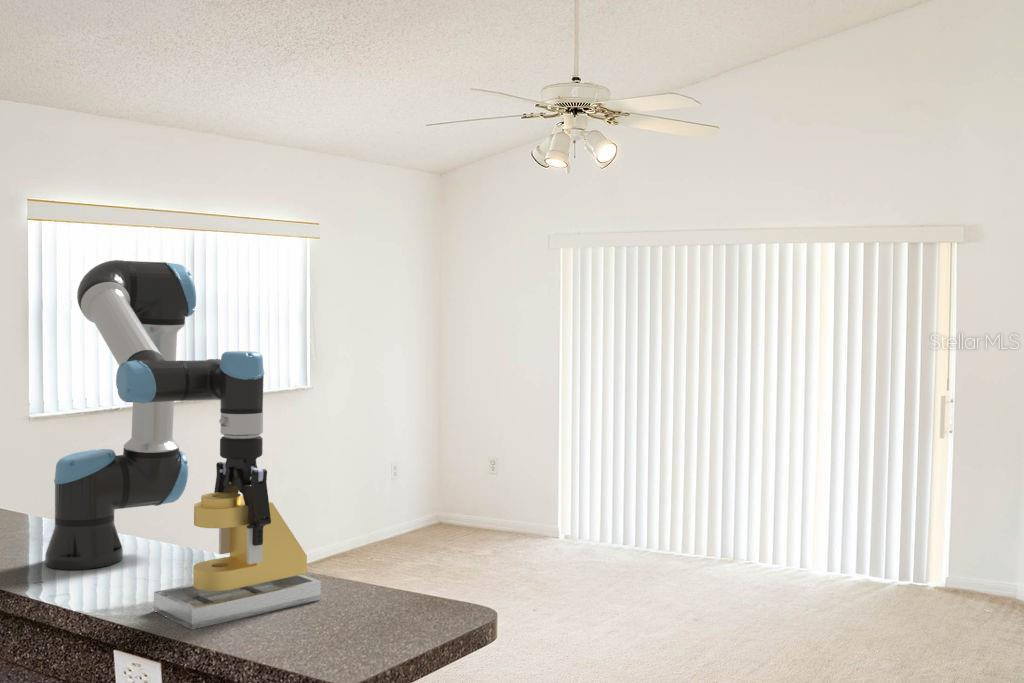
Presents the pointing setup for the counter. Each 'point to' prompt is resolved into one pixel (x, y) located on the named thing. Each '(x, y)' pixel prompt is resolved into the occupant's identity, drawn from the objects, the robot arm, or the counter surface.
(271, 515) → the yellow mounting bracket
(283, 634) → the counter surface
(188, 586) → the tray
